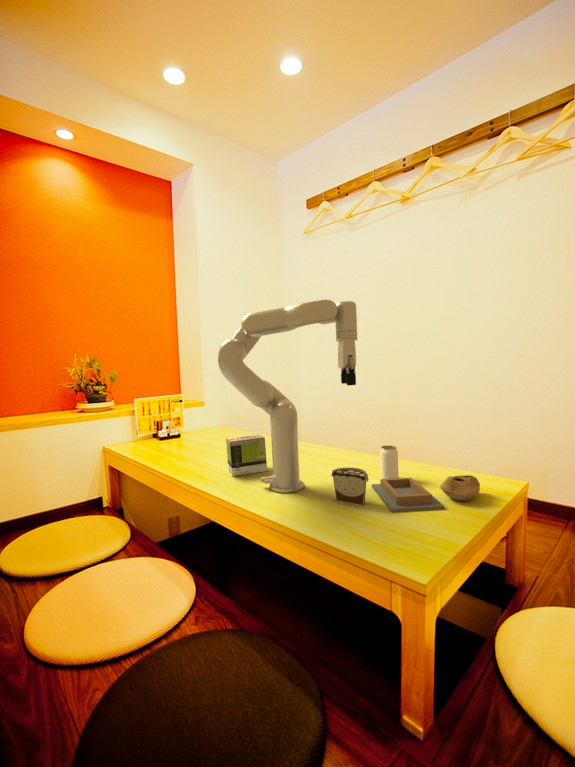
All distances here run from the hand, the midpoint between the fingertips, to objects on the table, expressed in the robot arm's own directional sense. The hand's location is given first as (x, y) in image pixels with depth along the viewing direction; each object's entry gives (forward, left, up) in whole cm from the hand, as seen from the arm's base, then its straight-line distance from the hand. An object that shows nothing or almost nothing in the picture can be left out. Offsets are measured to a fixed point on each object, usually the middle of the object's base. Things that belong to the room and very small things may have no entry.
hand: (348, 384), depth 135 cm
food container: (-3, -16, -37) cm, 40 cm away
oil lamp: (+32, -19, -37) cm, 52 cm away
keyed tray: (+14, -16, -37) cm, 42 cm away
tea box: (-40, +23, -37) cm, 59 cm away
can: (+15, +3, -37) cm, 40 cm away
